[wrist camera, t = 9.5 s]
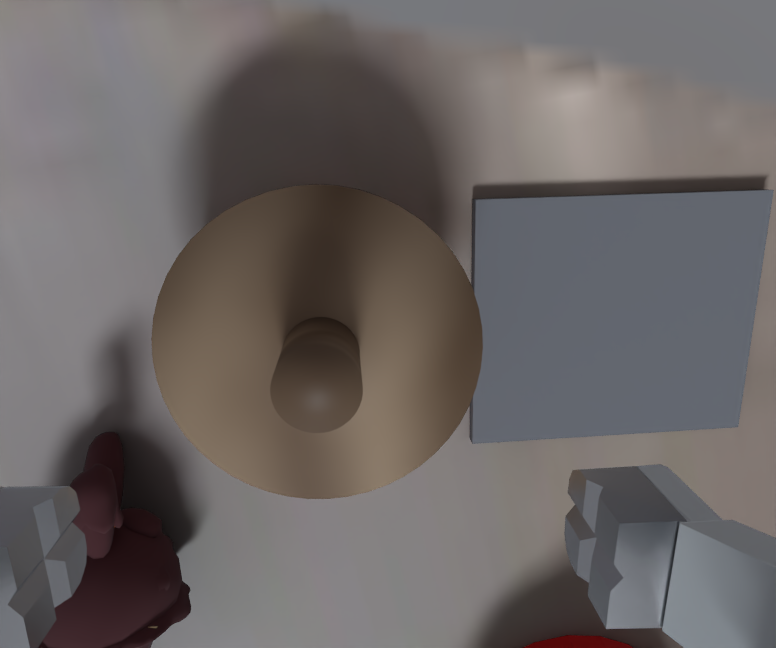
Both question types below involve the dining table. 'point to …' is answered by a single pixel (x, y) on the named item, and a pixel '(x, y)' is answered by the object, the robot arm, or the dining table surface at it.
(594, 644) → the kitchen timer
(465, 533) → the dining table surface
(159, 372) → the lid
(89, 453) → the icecream
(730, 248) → the mat
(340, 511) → the dining table surface
